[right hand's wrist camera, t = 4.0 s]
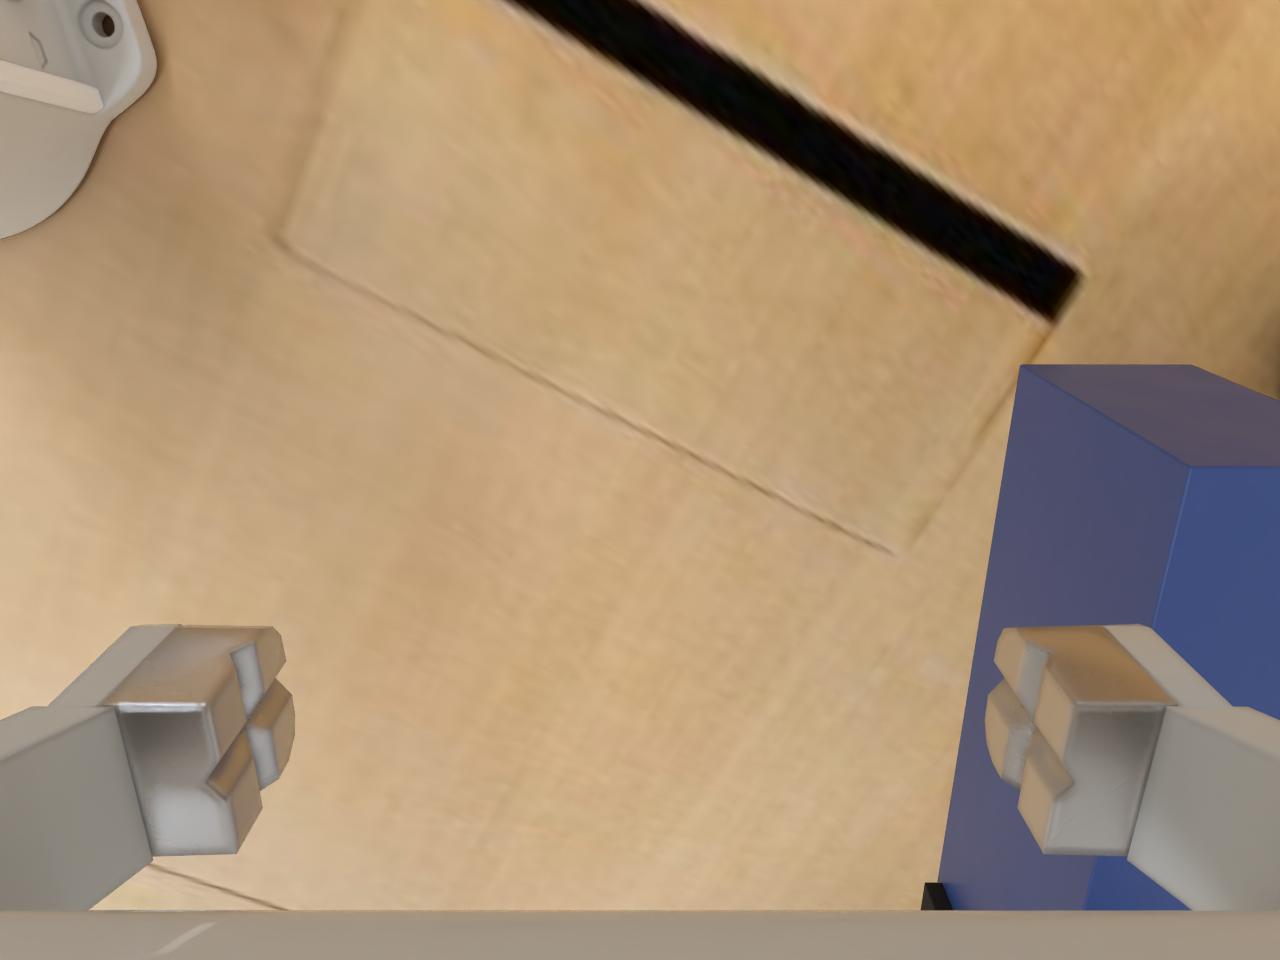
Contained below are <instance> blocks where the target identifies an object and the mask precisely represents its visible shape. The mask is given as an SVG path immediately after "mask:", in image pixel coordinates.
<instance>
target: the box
mask: <svg viewBox="0 0 1280 960" xmlns="http://www.w3.org/2000/svg"><path fill="white" fill-rule="evenodd" d="M1121 624H1141V625H1144V626H1147V627H1149V628H1151V629H1152V630H1153V631H1155V632H1156V633H1157V634H1158V635H1159V636H1160V637H1161V638H1162V639H1163V640H1164V641H1165V642H1166V643H1167V644H1168V645H1169V646H1170V647H1171V648H1172V649H1173V650H1174V651H1175V652H1176V653H1178V654H1179V655H1180V656H1181V657H1182V658H1183V659H1184V660H1185V661H1186V662H1187V663H1188V664H1189V665H1190V666H1191V667H1192V668H1193V669H1194V670H1195V671H1196V672H1197V673H1198V674H1199V675H1200V676H1202V677H1203V678H1204V679H1205V680H1206V681H1207V682H1208V683H1209V684H1210V685H1211V686H1212V687H1213V688H1214V689H1215V690H1216V691H1217V692H1218V693H1219V694H1220V695H1221V696H1222V697H1223V698H1225V699H1226V700H1227V701H1228V702H1229V703H1230V704H1231V705H1232V706H1233V707H1250V708H1252V709H1255V710H1257V711H1259V712H1262V713H1264V714H1266V715H1269V716H1271V717H1273V718H1275V719H1278V720H1280V401H1277V400H1275V399H1273V398H1270V397H1268V396H1265V395H1263V394H1261V393H1258V392H1256V391H1253V390H1251V389H1248V388H1246V387H1244V386H1241V385H1239V384H1236V383H1234V382H1232V381H1229V380H1227V379H1224V378H1222V377H1220V376H1217V375H1215V374H1212V373H1210V372H1208V371H1205V370H1203V369H1200V368H1198V367H1196V366H1193V365H1020V369H1019V376H1018V382H1017V388H1016V394H1015V401H1014V407H1013V413H1012V419H1011V426H1010V432H1009V438H1008V444H1007V451H1006V457H1005V463H1004V469H1003V476H1002V482H1001V488H1000V494H999V501H998V507H997V513H996V519H995V526H994V532H993V538H992V544H991V551H990V557H989V563H988V569H987V576H986V582H985V588H984V594H983V601H982V607H981V613H980V619H979V626H978V632H977V638H976V644H975V651H974V657H973V663H972V669H971V676H970V682H969V688H968V694H967V701H966V707H965V713H964V719H963V726H962V732H961V738H960V744H959V751H958V757H957V763H956V770H955V776H954V782H953V788H952V795H951V801H950V807H949V813H948V820H947V826H946V832H945V838H944V845H943V851H942V857H941V863H940V870H939V876H938V882H937V883H942V884H943V886H944V889H945V891H946V894H947V896H948V898H949V901H950V903H951V906H952V908H953V911H1050V910H1052V911H1053V910H1191V909H1190V908H1188V907H1187V906H1186V905H1185V904H1183V903H1182V902H1181V901H1179V900H1178V899H1177V898H1176V897H1174V896H1173V895H1172V894H1170V893H1169V892H1168V891H1166V890H1165V889H1164V888H1163V887H1161V886H1160V885H1159V884H1157V883H1156V882H1155V881H1153V880H1152V879H1151V878H1150V877H1148V876H1147V875H1146V874H1144V873H1143V872H1142V871H1140V870H1139V869H1138V868H1137V867H1135V866H1134V865H1133V864H1131V863H1130V862H1129V861H1127V857H1128V856H1095V855H1059V854H1043V852H1042V850H1041V848H1040V847H1039V845H1038V843H1037V841H1036V840H1035V838H1034V836H1033V834H1032V833H1031V831H1030V829H1029V827H1028V826H1027V824H1026V822H1025V820H1024V819H1023V817H1022V815H1021V813H1020V812H1019V810H1018V808H1017V807H1018V802H1019V796H1020V791H1019V790H1018V789H1016V788H1015V787H1013V786H1012V785H1010V784H1009V783H1007V782H1005V781H1004V780H1002V779H1001V778H1000V776H999V774H998V772H997V770H996V768H995V766H994V764H993V763H992V759H991V756H990V753H989V750H988V746H987V740H986V729H985V715H986V707H987V699H988V694H989V693H990V692H991V691H992V690H993V689H994V688H995V687H996V686H997V685H998V684H999V683H1000V682H1001V681H1002V680H1003V679H1004V678H1005V677H1004V676H1003V674H1002V673H1001V671H1000V670H999V668H998V667H997V665H996V664H995V662H994V657H995V652H996V646H997V641H998V639H999V637H1000V635H1001V633H1002V631H1003V629H1004V628H1013V627H1047V626H1087V625H1121Z"/></svg>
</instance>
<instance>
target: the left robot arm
mask: <svg viewBox="0 0 1280 960" xmlns="http://www.w3.org/2000/svg"><path fill="white" fill-rule="evenodd" d="M921 911H953V908H952V906H951V903H950V901H949V898H948V896H947V894H946V891H945V889H944V886H943V884H942V883H925V886H924V892H923V899H922V905H921Z"/></svg>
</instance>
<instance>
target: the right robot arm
mask: <svg viewBox="0 0 1280 960" xmlns="http://www.w3.org/2000/svg"><path fill="white" fill-rule="evenodd" d="M107 15H109V16H110V17H111V18H112V20H113V22H114V25H115V30H114V33H113V34H112V35H111V36H110V37H108V36H107V35H106V34H105V32H104V30H103V26H102V22H103V19H104V18H105V16H107ZM156 71H157V58H156V54H155V50H154V47H153V44H152V41H151V38H150V36H149V33H148V30H147V27H146V24H145V22H144V19H143V16H142V13H141V10H140V7H139V5H138V2H137V0H0V239H3V238H6V237H10V236H13V235H16V234H18V233H21V232H24V231H26V230H28V229H30V228H32V227H34V226H36V225H37V224H39V223H41V222H42V221H44V220H45V219H47V218H48V217H49V216H51V215H52V214H53V213H54V212H56V211H57V210H58V209H59V208H60V207H61V206H62V205H63V204H64V203H65V202H66V201H67V200H68V199H69V198H70V196H71V195H72V194H73V193H74V191H75V190H76V189H77V187H78V186H79V184H80V183H81V181H82V179H83V178H84V176H85V174H86V172H87V170H88V168H89V166H90V164H91V162H92V159H93V157H94V154H95V152H96V150H97V147H98V145H99V142H100V140H101V138H102V136H103V134H104V132H105V130H106V128H107V127H108V125H109V124H110V122H111V121H112V120H113V119H114V118H116V117H117V116H118V115H119V114H121V113H122V112H123V111H124V110H126V109H127V108H128V107H129V106H130V105H132V104H133V103H134V102H135V101H136V100H137V99H138V98H140V97H141V96H142V95H143V94H144V93H145V91H146V90H147V89H148V88H149V87H150V85H151V84H152V82H153V80H154V78H155V75H156ZM285 662H286V658H285V653H284V648H283V643H282V639H281V635H280V634H279V633H278V632H277V631H276V630H275V629H274V628H273V627H271V626H219V625H185V626H183V625H181V624H160V625H139V626H133V627H130V628H129V629H128V630H127V631H126V632H125V633H124V634H123V635H122V636H121V637H119V638H118V639H117V640H116V641H115V642H114V643H113V644H112V645H111V646H110V647H109V648H108V649H107V650H106V651H105V652H104V653H103V654H102V655H101V656H100V657H99V658H97V659H96V660H95V661H94V662H93V663H92V664H91V665H90V666H89V667H88V668H87V669H86V670H85V671H84V672H83V673H82V674H81V675H80V676H79V677H78V678H77V679H75V680H74V681H73V682H72V683H71V684H70V685H69V686H68V687H67V688H66V689H65V690H64V691H63V692H62V693H61V694H60V695H59V696H58V697H57V698H56V699H55V700H53V701H52V702H51V703H50V704H49V705H48V706H47V707H30V708H28V709H25V710H23V711H21V712H18V713H16V714H14V715H11V716H9V717H7V718H4V719H2V720H0V960H1280V720H1278V719H1275V718H1273V717H1271V716H1269V715H1266V714H1264V713H1262V712H1259V711H1257V710H1255V709H1252V708H1250V707H1233V706H1232V705H1231V704H1230V703H1229V702H1228V701H1227V700H1226V699H1225V698H1223V697H1222V696H1221V695H1220V694H1219V693H1218V692H1217V691H1216V690H1215V689H1214V688H1213V687H1212V686H1211V685H1210V684H1209V683H1208V682H1207V681H1206V680H1205V679H1204V678H1203V677H1202V676H1200V675H1199V674H1198V673H1197V672H1196V671H1195V670H1194V669H1193V668H1192V667H1191V666H1190V665H1189V664H1188V663H1187V662H1186V661H1185V660H1184V659H1183V658H1182V657H1181V656H1180V655H1179V654H1178V653H1176V652H1175V651H1174V650H1173V649H1172V648H1171V647H1170V646H1169V645H1168V644H1167V643H1166V642H1165V641H1164V640H1163V639H1162V638H1161V637H1160V636H1159V635H1158V634H1157V633H1156V632H1155V631H1153V630H1152V629H1151V628H1149V627H1147V626H1144V625H1141V624H1121V625H1087V626H1047V627H1013V628H1004V629H1003V631H1002V633H1001V635H1000V637H999V639H998V641H997V646H996V652H995V657H994V662H995V664H996V665H997V667H998V668H999V670H1000V671H1001V673H1002V674H1003V676H1004V677H1005V678H1004V679H1003V680H1002V681H1001V682H1000V683H999V684H998V685H997V686H996V687H995V688H994V689H993V690H992V691H991V692H990V693H989V694H988V699H987V707H986V715H985V729H986V740H987V746H988V750H989V753H990V756H991V759H992V763H993V764H994V766H995V768H996V770H997V772H998V774H999V776H1000V778H1001V779H1002V780H1004V781H1005V782H1007V783H1009V784H1010V785H1012V786H1013V787H1015V788H1016V789H1018V790H1019V791H1020V796H1019V802H1018V807H1017V808H1018V810H1019V812H1020V813H1021V815H1022V817H1023V819H1024V820H1025V822H1026V824H1027V826H1028V827H1029V829H1030V831H1031V833H1032V834H1033V836H1034V838H1035V840H1036V841H1037V843H1038V845H1039V847H1040V848H1041V850H1042V852H1043V854H1059V855H1095V856H1128V857H1127V861H1129V862H1130V863H1131V864H1133V865H1134V866H1135V867H1137V868H1138V869H1139V870H1140V871H1142V872H1143V873H1144V874H1146V875H1147V876H1148V877H1150V878H1151V879H1152V880H1153V881H1155V882H1156V883H1157V884H1159V885H1160V886H1161V887H1163V888H1164V889H1165V890H1166V891H1168V892H1169V893H1170V894H1172V895H1173V896H1174V897H1176V898H1177V899H1178V900H1179V901H1181V902H1182V903H1183V904H1185V905H1186V906H1187V907H1188V908H1190V909H1191V910H1053V911H1052V910H1050V911H298V910H89V909H91V908H92V907H93V906H94V905H96V904H97V903H98V902H100V901H101V900H102V899H104V898H105V897H106V896H107V895H109V894H110V893H111V892H113V891H114V890H115V889H117V888H118V887H119V886H120V885H122V884H123V883H124V882H126V881H127V880H128V879H130V878H131V877H132V876H133V875H135V874H136V873H137V872H139V871H140V870H141V869H143V868H144V867H145V866H146V865H148V864H149V863H150V862H152V861H153V858H152V856H184V855H219V854H237V852H238V850H239V849H240V847H241V845H242V843H243V841H244V840H245V838H246V836H247V834H248V833H249V831H250V829H251V827H252V826H253V824H254V822H255V820H256V819H257V817H258V815H259V813H260V812H261V810H262V808H263V807H262V802H261V796H260V791H261V790H262V789H264V788H265V787H267V786H268V785H270V784H272V783H273V782H275V781H276V780H278V779H279V778H280V776H281V774H282V772H283V770H284V768H285V766H286V764H287V762H288V760H289V757H290V752H291V748H292V744H293V740H294V735H295V712H294V705H293V699H292V694H291V693H290V692H289V691H288V690H287V689H286V688H285V687H284V686H283V685H282V684H281V683H280V682H279V681H278V680H277V679H276V678H275V677H276V676H277V674H278V673H279V671H280V670H281V668H282V667H283V665H284V664H285Z"/></svg>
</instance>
